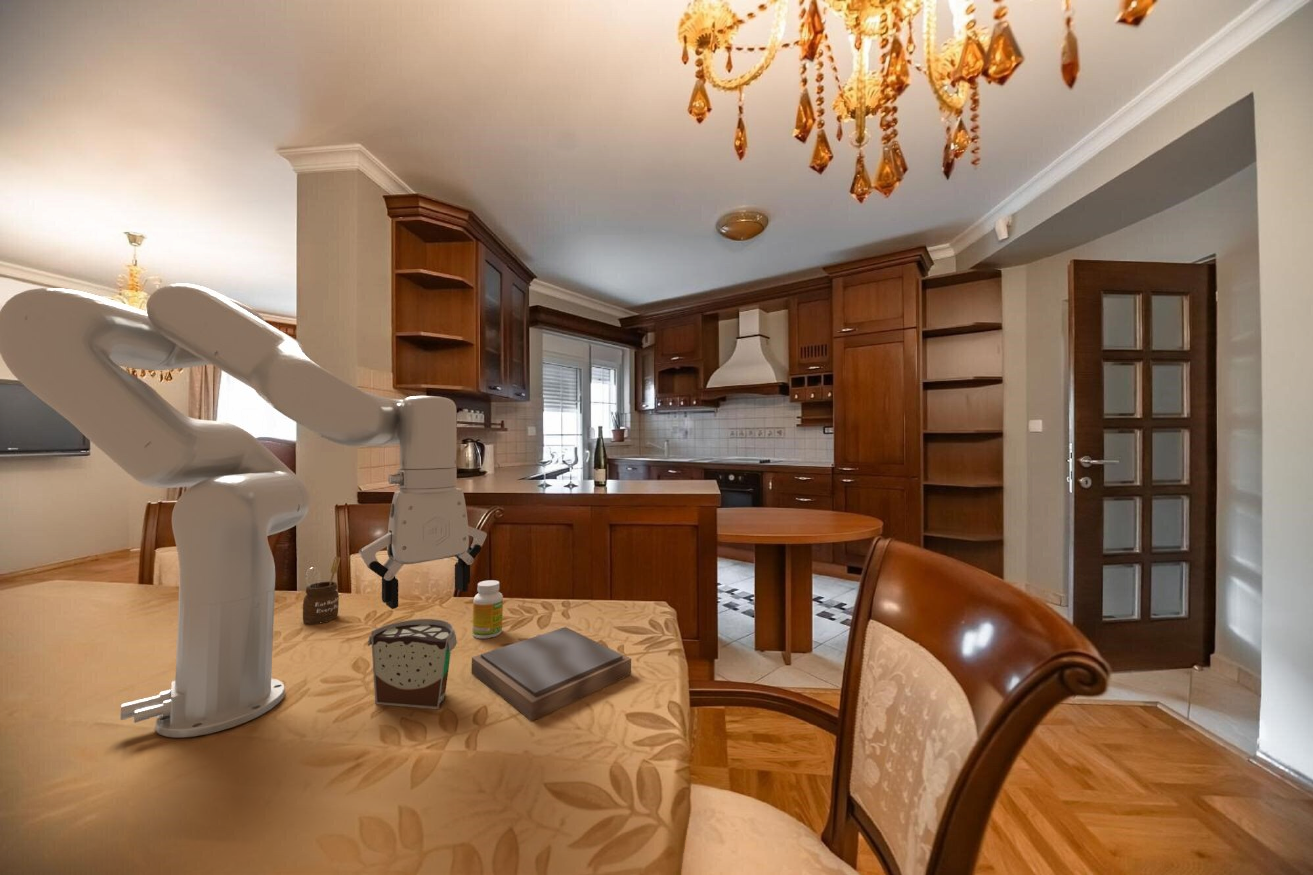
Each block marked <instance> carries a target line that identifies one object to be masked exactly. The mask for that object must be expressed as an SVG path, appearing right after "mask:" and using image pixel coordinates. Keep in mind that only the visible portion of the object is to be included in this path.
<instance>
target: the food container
mask: <svg viewBox="0 0 1313 875" xmlns="http://www.w3.org/2000/svg"><path fill="white" fill-rule="evenodd" d="M457 643H458V641H457V636H456V631H455V629H454V626H453V625H452V623H450V622H448V621H445V620H442V619H436V618H435V619H434V618H417V619H416V618H415V619H409V620H403V621H398V622H393V623H390V624H386V625H383V626H380V627H378V628H376V629H373V630H371V633H370V635H369V637H368V642H367V647H370V646H371V652H372V658H371V659H372V669H373V670H372V671H373V689H374V703H375V705H382V706H383V705H385V706H394V707H408V708H419V709H420V708H421V709H433V710H440V708H441V707H442V706H443V705H444V701H445V699H446V694H447V693H446V691H447V685H448V677H449V676H448V675H449V669H450V660H451V653H452V651H453V650H454V649H455V647H456V646H457Z"/></svg>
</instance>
